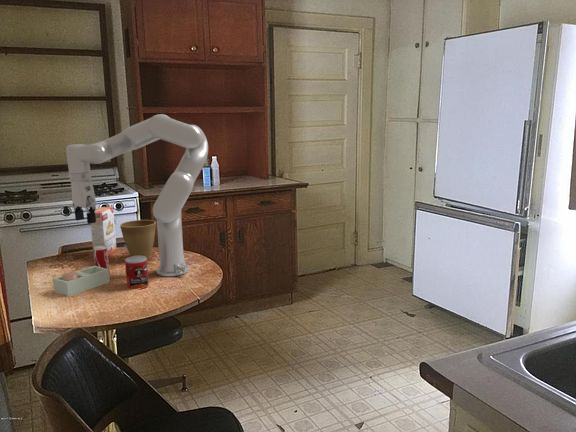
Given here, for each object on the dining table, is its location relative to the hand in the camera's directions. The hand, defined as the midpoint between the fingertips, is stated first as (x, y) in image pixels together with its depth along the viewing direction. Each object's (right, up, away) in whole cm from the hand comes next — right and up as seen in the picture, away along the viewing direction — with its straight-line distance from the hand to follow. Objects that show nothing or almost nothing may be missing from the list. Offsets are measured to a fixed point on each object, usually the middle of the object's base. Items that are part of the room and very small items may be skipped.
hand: (85, 221), depth 192 cm
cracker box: (-5, -16, +35) cm, 39 cm away
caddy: (+3, -25, -9) cm, 26 cm away
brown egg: (0, -25, -13) cm, 28 cm away
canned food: (+23, -24, -8) cm, 34 cm away
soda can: (+5, -22, +5) cm, 23 cm away
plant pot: (+13, -17, +28) cm, 35 cm away
